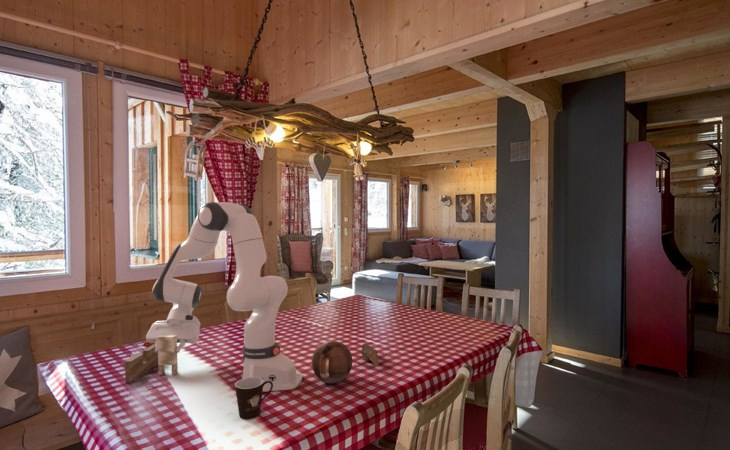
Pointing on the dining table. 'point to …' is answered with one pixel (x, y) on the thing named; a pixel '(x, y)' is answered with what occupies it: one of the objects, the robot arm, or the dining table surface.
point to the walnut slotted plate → (140, 363)
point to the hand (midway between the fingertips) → (166, 352)
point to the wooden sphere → (332, 362)
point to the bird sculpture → (370, 354)
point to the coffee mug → (250, 396)
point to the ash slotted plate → (167, 353)
